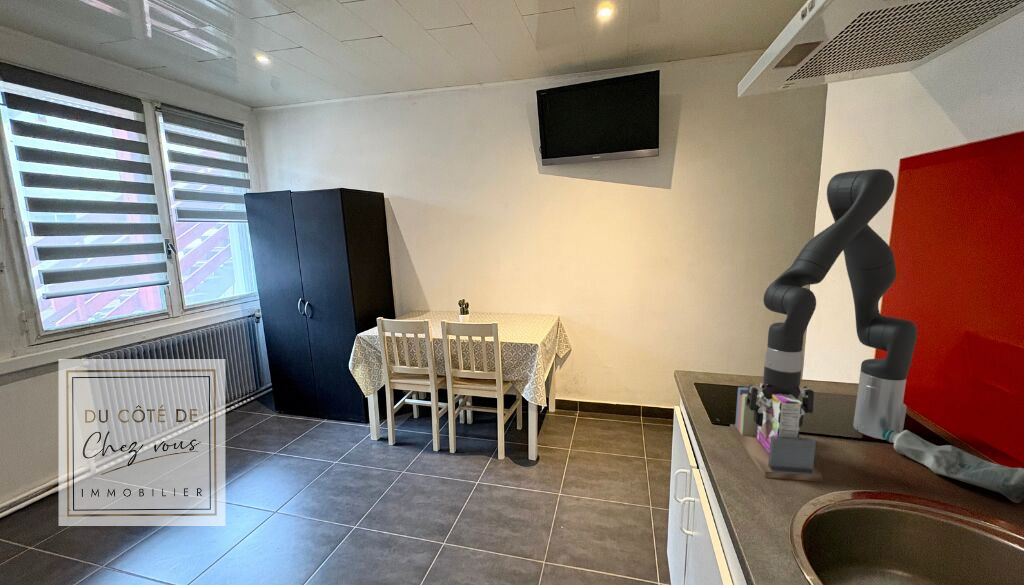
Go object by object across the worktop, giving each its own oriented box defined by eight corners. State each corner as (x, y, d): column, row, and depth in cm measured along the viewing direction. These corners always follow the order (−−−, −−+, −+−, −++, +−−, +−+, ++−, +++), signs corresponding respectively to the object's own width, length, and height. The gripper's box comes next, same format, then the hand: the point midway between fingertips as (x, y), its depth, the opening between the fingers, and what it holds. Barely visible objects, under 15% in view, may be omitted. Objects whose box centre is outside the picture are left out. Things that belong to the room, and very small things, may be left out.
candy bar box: (754, 438, 105) (759, 382, 102) (774, 439, 104) (780, 382, 101) (774, 463, 94) (780, 401, 91) (797, 465, 93) (804, 402, 91)
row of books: (773, 428, 110) (776, 388, 108) (782, 437, 105) (786, 396, 103) (735, 426, 112) (738, 387, 110) (742, 435, 107) (745, 394, 105)
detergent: (1047, 497, 82) (898, 437, 105) (1054, 468, 81) (901, 413, 104) (1017, 520, 78) (868, 452, 101) (1023, 490, 77) (871, 427, 100)
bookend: (809, 469, 92) (813, 438, 90) (815, 475, 90) (818, 443, 88) (768, 466, 93) (770, 436, 92) (772, 472, 91) (775, 441, 90)
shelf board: (774, 431, 111) (775, 426, 111) (821, 481, 90) (822, 475, 89) (729, 428, 113) (730, 424, 113) (765, 477, 92) (765, 471, 92)
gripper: (806, 360, 98) (800, 420, 100) (745, 359, 100) (740, 417, 103) (824, 372, 90) (817, 435, 93) (758, 370, 93) (752, 432, 96)
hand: (777, 425), depth 98 cm, fingers open, 8 cm apart
